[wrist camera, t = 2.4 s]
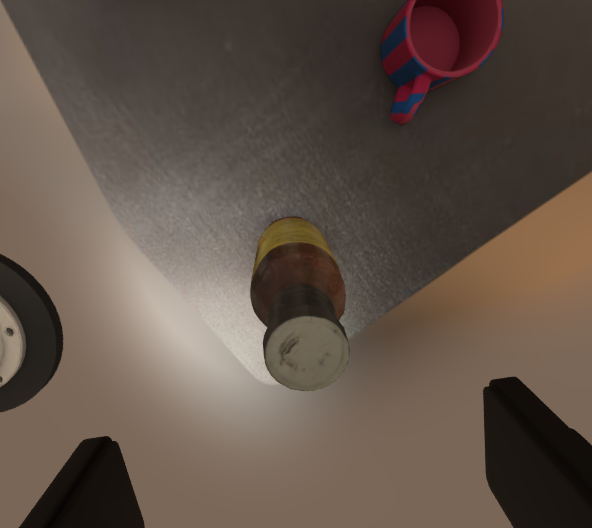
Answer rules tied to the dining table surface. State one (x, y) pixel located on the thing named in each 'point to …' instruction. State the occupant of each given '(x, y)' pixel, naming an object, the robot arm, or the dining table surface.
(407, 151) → the dining table surface
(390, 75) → the mug
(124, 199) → the dining table surface
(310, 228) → the sauce bottle
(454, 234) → the dining table surface
